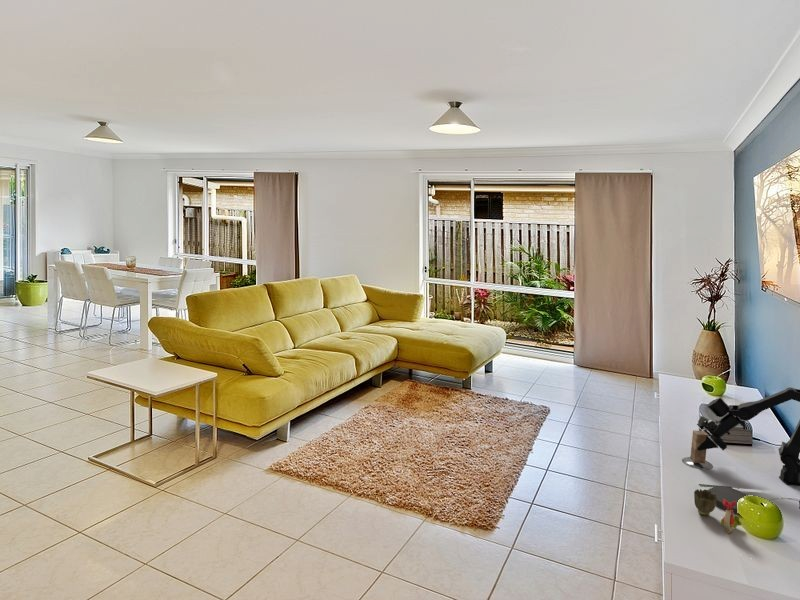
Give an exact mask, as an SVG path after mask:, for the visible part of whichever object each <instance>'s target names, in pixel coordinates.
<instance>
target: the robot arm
mask: <svg viewBox="0 0 800 600" xmlns="http://www.w3.org/2000/svg"><path fill="white" fill-rule="evenodd" d="M790 400H791V401H792V400H793V401H797V402H799V403H800V389H799V388H794V387H787V388H785V389H783V390H781V391H778V392H776V393H773V394H771V395H769V396H765V397H763V398H761V399H759V400H756V401H748V402H747V401H746V402H743V403H740V404H739V405H737V404H731V405H729V404H728V403H727V402H725V401H724V399H723V398H722V397H720V396H719V397H718V398H716V399H713V400H711V401H710V402H709V403H708V404H707V405H706V407H707V408H708V409H709V410H710V412H712V413H713V414H714V415H715V416H716V417H718V418H720V419H719V420H717V419H714V420H712V419H709V418H707V417H705V416H703V415H701V416H700V417H699V419H698V421H697V422H698V423H697V424H696V425H697V427H698V431H704V432H705V433H706V434H707V435H708V436H706V440H705V441H704V442H703V443H702V444H701V445H700V446H699V447H698V448H697V450H698V451H700V450H705V449H706V450H710V449H716V448H717V449H719V448H720V449H721V450H722V451H725V450H726V449H727V448H728V444H727V443H726V442H724V439H722V437H724V436H726V435H730V434H731V433H730V432H731V431H732V430H733V429H735V428H737V426H739V425H740V426H741V427H742V428H745V427H746V424H745V423H746V422H748V421H750V420H752V419H753V418H755V417H756V416H758V415H759V414H760V413H762V412H763V411H766V410H768V409H771V408H774V407H775V406H778V405H781V404H783V403H786V402H789V401H790ZM778 454H779V458H780V462H781V463H782V464H783V465H782V468H781V469H780V475H778V478H779V479H780V480H781V481H782V482H783V483H784V484H786V485H789V486H800V419H799V421H798V422H797V425H796V426H795V428H794V430H793V433H792V434H791V436H790V439H789V440H788V441H787V442H785V441H781V445H780V446H779V448H778Z"/></svg>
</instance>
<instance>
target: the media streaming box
mask: <svg viewBox="0 0 800 600" xmlns="http://www.w3.org/2000/svg"><path fill="white" fill-rule="evenodd" d="M728 487H729V486H728ZM728 487H714V488H713V487H710V488H709V489H706V490H707V491H708V492H709V491H711V494H713V495H714V494H716V496H718V498H717V502H716V506H715V507H718V506H719V508H720V509H723V510H725V511H726V509H727V508H726V507H725V506H724V505H723V503H722V502H724V500H723V499H725V500H727V501H728V502H729V503H731V502H734V501H737V502H738V500H739V499H740V498H742V497H744V496H746V495H748V494H747V493H745V492H744V491H740V490H738V489H736V488H733V487H732V488H728ZM737 502H736V505H735V506H734V507H733V508H732V510H733V512H734V514H735V513H737Z"/></svg>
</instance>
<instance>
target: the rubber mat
mask: <svg viewBox="0 0 800 600" xmlns="http://www.w3.org/2000/svg"><path fill="white" fill-rule="evenodd" d="M698 485H699V487H701V488H703V487H704V488H714V487H728V488H733V487H732V486H729V485H727V486H726V485H713V484H701V483H698Z"/></svg>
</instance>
